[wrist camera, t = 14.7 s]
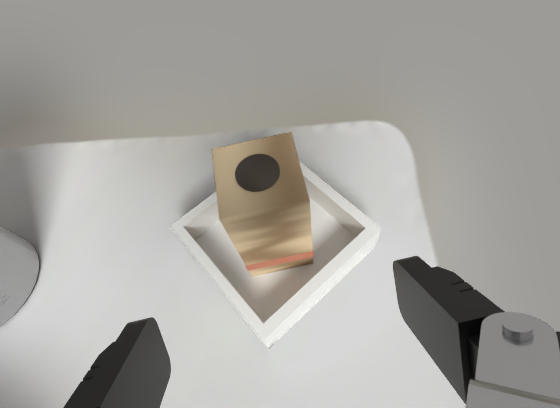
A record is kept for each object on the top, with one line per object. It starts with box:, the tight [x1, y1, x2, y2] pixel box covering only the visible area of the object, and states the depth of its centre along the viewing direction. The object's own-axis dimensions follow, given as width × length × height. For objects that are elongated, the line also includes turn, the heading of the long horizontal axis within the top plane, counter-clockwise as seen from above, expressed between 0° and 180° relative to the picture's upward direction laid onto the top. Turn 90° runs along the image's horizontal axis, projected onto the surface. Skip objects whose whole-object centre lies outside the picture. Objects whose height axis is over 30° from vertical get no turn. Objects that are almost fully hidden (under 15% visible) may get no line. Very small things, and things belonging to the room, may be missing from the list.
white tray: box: [170, 161, 382, 348], centre depth 27 cm, size 12×12×4 cm
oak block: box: [212, 132, 314, 277], centre depth 24 cm, size 5×5×10 cm
